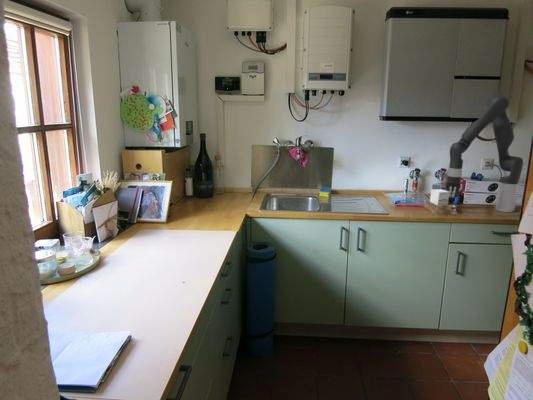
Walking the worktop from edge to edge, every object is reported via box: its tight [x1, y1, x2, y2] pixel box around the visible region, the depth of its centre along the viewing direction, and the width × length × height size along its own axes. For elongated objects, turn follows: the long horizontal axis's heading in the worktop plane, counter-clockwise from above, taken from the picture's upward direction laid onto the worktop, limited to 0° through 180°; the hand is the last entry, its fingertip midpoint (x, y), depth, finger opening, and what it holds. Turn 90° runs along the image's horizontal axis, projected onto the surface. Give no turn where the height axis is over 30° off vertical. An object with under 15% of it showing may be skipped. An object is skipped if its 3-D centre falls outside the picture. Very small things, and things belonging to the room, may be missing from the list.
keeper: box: [424, 199, 458, 215], centre depth 231 cm, size 14×14×5 cm
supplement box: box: [429, 188, 449, 205], centre depth 230 cm, size 7×7×13 cm
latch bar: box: [448, 201, 458, 209], centre depth 232 cm, size 15×2×3 cm, turn 0°
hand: (450, 202), depth 236 cm, fingers closed
